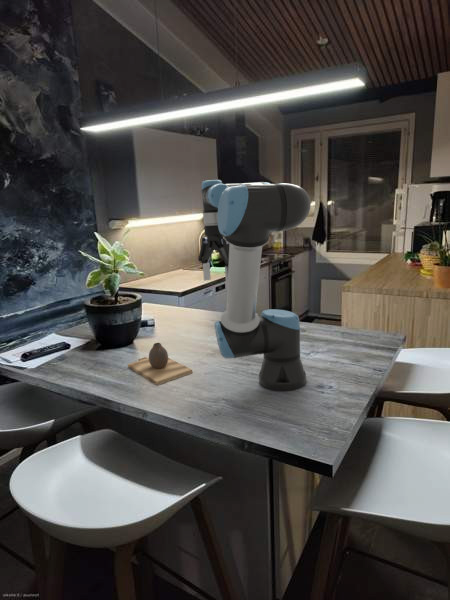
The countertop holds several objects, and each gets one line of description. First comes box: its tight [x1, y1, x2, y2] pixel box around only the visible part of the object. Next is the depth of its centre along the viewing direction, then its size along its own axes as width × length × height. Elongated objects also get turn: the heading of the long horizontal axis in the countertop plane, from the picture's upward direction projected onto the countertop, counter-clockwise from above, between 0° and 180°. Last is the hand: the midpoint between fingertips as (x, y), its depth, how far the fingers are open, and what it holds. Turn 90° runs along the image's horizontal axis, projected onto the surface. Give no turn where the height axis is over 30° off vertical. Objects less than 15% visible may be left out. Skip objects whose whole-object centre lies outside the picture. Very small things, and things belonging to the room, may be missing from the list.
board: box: [127, 356, 193, 386], centre depth 148 cm, size 24×14×1 cm, turn 38°
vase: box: [148, 342, 169, 369], centre depth 146 cm, size 7×7×9 cm
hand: (217, 281), depth 153 cm, fingers open, 13 cm apart
